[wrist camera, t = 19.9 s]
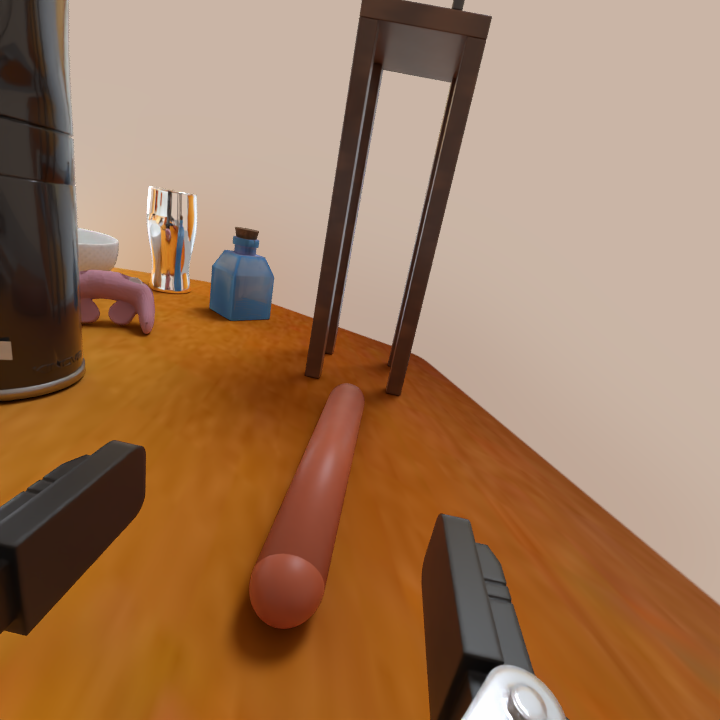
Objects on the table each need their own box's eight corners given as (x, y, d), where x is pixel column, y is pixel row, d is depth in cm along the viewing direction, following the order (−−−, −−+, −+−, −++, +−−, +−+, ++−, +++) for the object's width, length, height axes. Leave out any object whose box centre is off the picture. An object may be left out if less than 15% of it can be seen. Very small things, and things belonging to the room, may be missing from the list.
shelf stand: (304, 375, 40) (365, -24, 30) (322, 348, 50) (373, 38, 39) (400, 396, 40) (496, -1, 29) (399, 364, 49) (472, 56, 39)
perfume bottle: (247, 307, 62) (254, 228, 58) (269, 319, 58) (278, 235, 54) (209, 308, 57) (215, 222, 54) (230, 320, 54) (238, 229, 50)
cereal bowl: (-69, 287, 44) (-80, 221, 42) (-6, 263, 58) (-11, 213, 56) (108, 302, 51) (107, 246, 49) (126, 278, 65) (126, 234, 63)
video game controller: (154, 338, 46) (155, 280, 47) (154, 333, 42) (155, 269, 43) (49, 334, 42) (52, 270, 42) (37, 327, 38) (41, 256, 38)
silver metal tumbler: (146, 282, 65) (147, 185, 60) (192, 286, 68) (196, 195, 63) (144, 291, 59) (145, 185, 55) (194, 296, 62) (199, 195, 58)
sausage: (313, 654, 15) (320, 595, 14) (235, 639, 15) (237, 579, 14) (363, 412, 35) (368, 381, 34) (330, 407, 35) (333, 375, 34)
